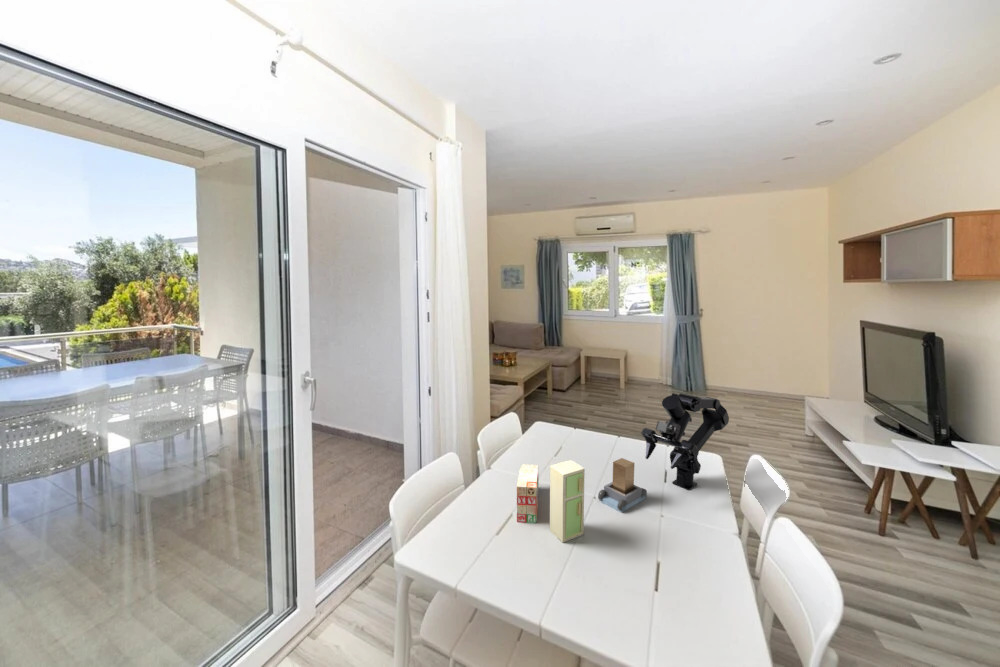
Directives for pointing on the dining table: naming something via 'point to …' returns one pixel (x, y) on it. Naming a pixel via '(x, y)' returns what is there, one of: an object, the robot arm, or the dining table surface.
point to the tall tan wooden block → (623, 476)
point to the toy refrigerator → (567, 500)
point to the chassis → (621, 497)
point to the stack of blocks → (527, 494)
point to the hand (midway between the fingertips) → (658, 463)
